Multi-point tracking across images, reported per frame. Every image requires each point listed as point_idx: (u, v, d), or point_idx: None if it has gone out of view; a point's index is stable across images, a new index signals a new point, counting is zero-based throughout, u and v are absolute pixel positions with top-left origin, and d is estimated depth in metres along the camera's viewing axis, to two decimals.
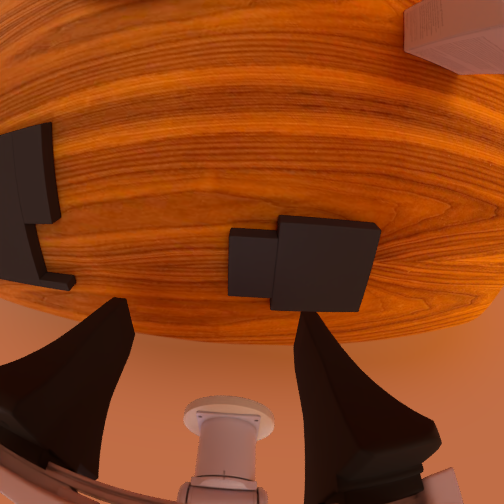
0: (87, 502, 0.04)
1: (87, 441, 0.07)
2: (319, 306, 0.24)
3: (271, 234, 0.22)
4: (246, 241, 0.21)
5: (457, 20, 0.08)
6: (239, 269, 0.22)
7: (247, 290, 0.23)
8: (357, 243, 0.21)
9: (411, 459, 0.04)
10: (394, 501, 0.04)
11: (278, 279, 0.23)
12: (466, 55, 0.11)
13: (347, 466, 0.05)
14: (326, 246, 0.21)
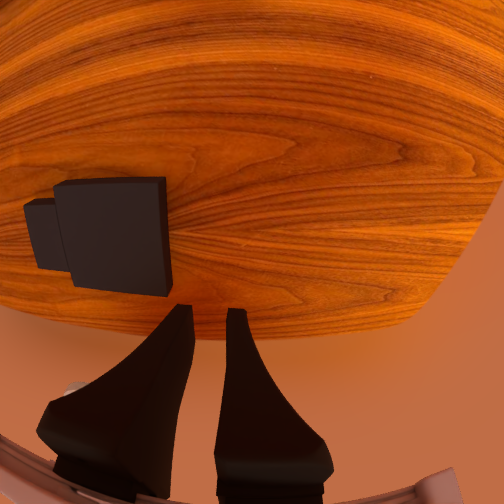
0: (87, 502, 0.04)
1: (164, 461, 0.07)
2: (116, 285, 0.19)
3: None
4: (34, 210, 0.16)
5: None
6: (37, 239, 0.17)
7: (48, 262, 0.18)
8: (130, 203, 0.16)
9: (295, 478, 0.04)
10: None
11: (67, 250, 0.18)
12: None
13: (219, 470, 0.05)
14: (97, 209, 0.16)
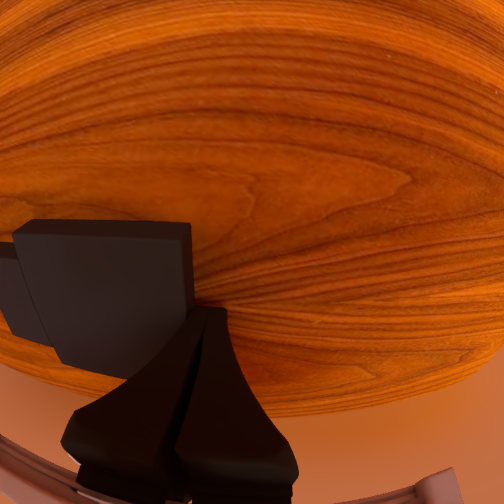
0: (87, 502, 0.04)
1: None
2: (120, 372, 0.12)
3: None
4: None
5: None
6: (4, 301, 0.11)
7: (24, 331, 0.12)
8: (133, 271, 0.10)
9: (259, 479, 0.04)
10: None
11: (46, 322, 0.11)
12: None
13: (184, 466, 0.05)
14: (80, 275, 0.10)
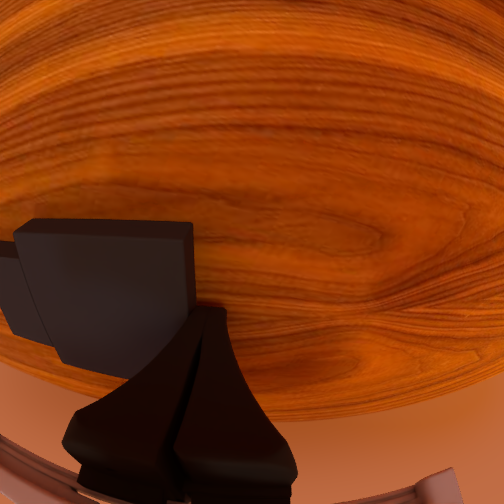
0: (87, 502, 0.04)
1: None
2: (121, 371, 0.12)
3: None
4: None
5: None
6: (4, 300, 0.11)
7: (24, 331, 0.12)
8: (135, 271, 0.10)
9: (258, 479, 0.04)
10: None
11: (46, 322, 0.11)
12: None
13: (183, 466, 0.05)
14: (81, 274, 0.10)
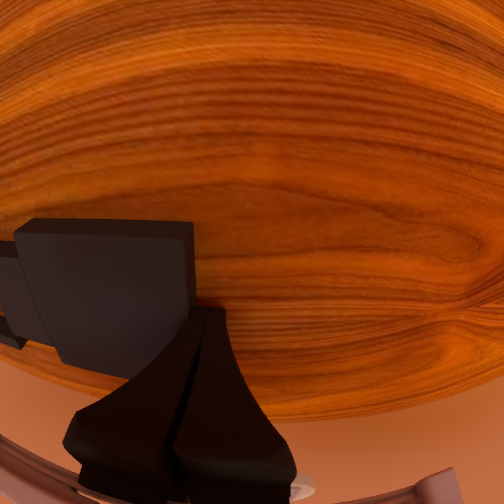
0: (87, 502, 0.04)
1: None
2: (122, 371, 0.12)
3: None
4: None
5: None
6: (5, 300, 0.11)
7: (25, 331, 0.12)
8: (135, 271, 0.10)
9: (257, 479, 0.04)
10: None
11: (47, 322, 0.11)
12: None
13: (183, 466, 0.05)
14: (82, 274, 0.10)
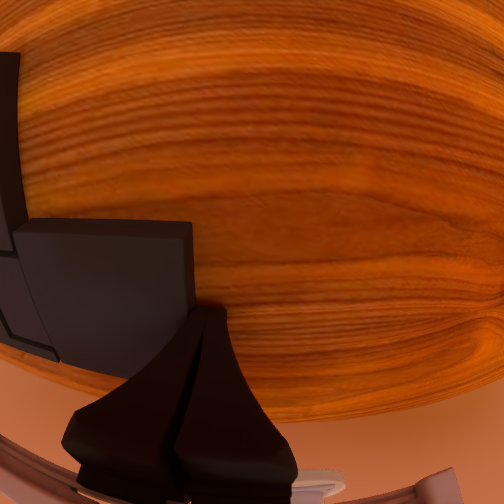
0: (87, 502, 0.04)
1: None
2: (121, 371, 0.12)
3: None
4: None
5: None
6: (4, 300, 0.11)
7: (24, 330, 0.12)
8: (134, 270, 0.10)
9: (258, 479, 0.04)
10: None
11: (46, 322, 0.11)
12: None
13: (184, 466, 0.05)
14: (81, 274, 0.10)
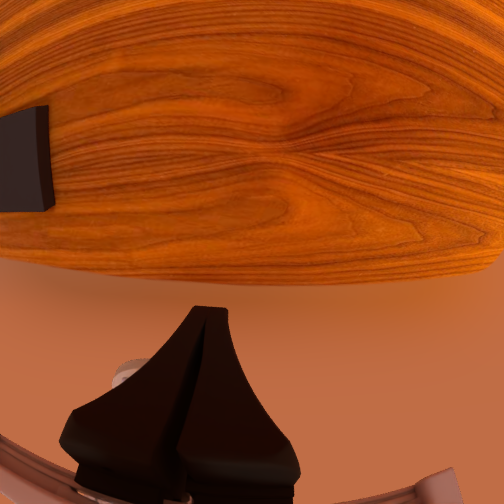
0: (87, 502, 0.04)
1: None
2: (12, 205, 0.17)
3: None
4: None
5: None
6: None
7: None
8: (19, 128, 0.14)
9: (261, 479, 0.04)
10: None
11: None
12: None
13: None
14: (1, 137, 0.14)
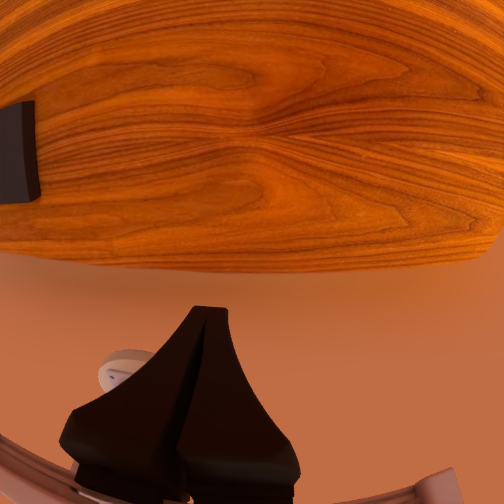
0: (87, 502, 0.04)
1: None
2: (1, 197, 0.17)
3: None
4: None
5: None
6: None
7: None
8: (7, 122, 0.14)
9: (261, 479, 0.04)
10: None
11: None
12: None
13: None
14: None
